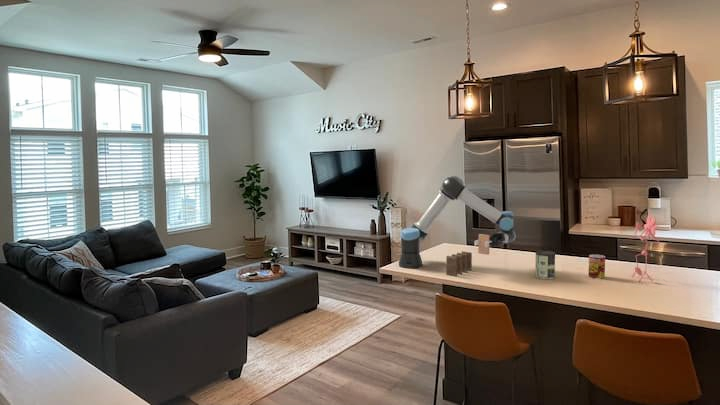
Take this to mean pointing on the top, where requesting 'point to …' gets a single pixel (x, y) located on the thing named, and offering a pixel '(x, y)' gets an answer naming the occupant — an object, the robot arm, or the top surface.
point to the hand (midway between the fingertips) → (480, 244)
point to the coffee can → (545, 265)
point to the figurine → (650, 230)
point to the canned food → (596, 266)
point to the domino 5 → (483, 244)
